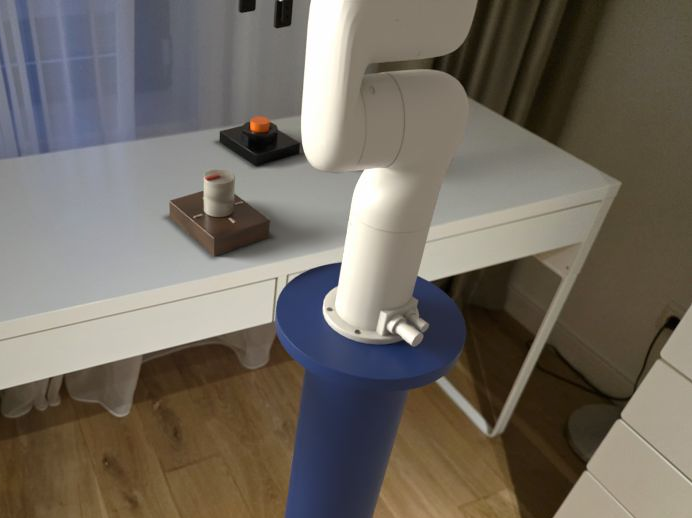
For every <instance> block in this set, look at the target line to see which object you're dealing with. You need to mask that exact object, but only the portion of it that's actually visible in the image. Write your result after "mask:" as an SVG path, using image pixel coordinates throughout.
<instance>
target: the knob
mask: <svg viewBox="0 0 692 518" xmlns="http://www.w3.org/2000/svg"><path fill="white" fill-rule="evenodd" d="M235 184H236V177H235V174H234V173H233V172H231V171H229V170H226V169H212V170H208V171H206V172H205V173H204V174H203V191H204V212H205V213H206V214H207V215H210V216H213V217H226V216H229V215H231V214H232V213H233V211H234V194H235V188H236V187H235Z"/></svg>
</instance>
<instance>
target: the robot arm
mask: <svg viewBox="0 0 692 518" xmlns="http://www.w3.org/2000/svg"><path fill="white" fill-rule="evenodd" d="M477 5H478V0H310V4H309V12H308V19H307V20H308V21H307V29H306V30H307V31H306V46H305V57H304V58H305V59H304V60H305V61H304V73H303V87H302V99H301V113H300V114H301V117H300V132H301V133H300V134H301V135H300V136H301V144H302V148H303V149H302V150H303V152H304V155H305V158H306V159H307V161H308V163H309V164H310V165H311V166H312V167H313V168H314V169H316V170H318V171H320V172H324V173H330V174H331V173H332V174H333V173H335V174H337V173H348V172H357V171H363V172H362V173H361V175H360V176H359V178H358V181H357V182H356V185H355V187H354V190H353V193H352V198H351V204H350V211H349V215H348V216H349V217H348V222H347V228H346V236H345V241H344V245H343V246H344V247H343V253H342V260H341V262H342V265H341V271H340V277H339V284H338V286H337V287H335V288H334V289H332V290H331V291H330V292H329V293H328V294H327V295H326V297H325V299H324V303H323V315H324V318H325V320H326V321H327V323H328V324H329V325H330V326H331V327H332V328H333V329H334V330H335V331H336V332H338V333H339V334H341V335H342V336H344V337H346V338H348V339H351V340H354V341H357V342H361V343H366V344H374V345H382V344H391V343H396V342H399V341H402V340H405V341H406V342H408V343H409V344H410V345H412V346H413V347H415V346H417V345H418V344H420V342H421V341H422V339H423V334H422V333H423V332H425V331H426V330H427V329H428V327H429V324H428V323H427V322H425V321H424V320H423V319H421V318H419V312H418V309H417V304H418V300H417V299H416V298H414V297H413V296H412V295H413V291H414V287H415V283H416V279H417V276H419V275H418V274H419V271H420V268H421V267H420V266H421V263H422V260H423V256H424V253H425V252H424V251H425V247H426V244H427V239H428V236H429V233H430V228H431V225H432V220H433V218H434V214H435V209H436V206H437V202H438V199H439V196H440V192H441V188H442V185H443V182H444V180H445V177H446V175H447V172H448V170H449V168H450V166H451V163H452V162H453V159H454V157H455V155H456V153H457V151H458V149H459V147H460V145H461V143H462V141H463V138H464V135H465V132H466V129H467V126H468V121H469V115H470V114H469V113H470V105H469V98H468V94H467V92H466V90H465V88H464V86H463V85H462V84H461V82H460V81H459V79H457V78H455V77H454V76H452V74H449V73H448V72H445V71H441V70H437V69H427V68H426V69H423V68H418V69H417V68H416V69H404V70H392V71H391V70H390V71H381V72H378V73H377V72H376V73H367V74H366V73H365V72H366V70H367V68H368V66H369V65H371V64H378V63H380V64H381V63H392V62H403V61H414V60H415V61H416V60H423V59H431V58H437V57H443V56H447V55H449V54H451V53H453V52H455V51H456V50H458V49H459V48H460V47H461V46H462V45H463V44H464V42H465V40H466V38H467V37H468V35H469V33H470V30H471V27H472V25H473V21H474V17H475V14H476V10H477ZM237 6H238V7H237V9H238V13H241V14H244V13H245V14H246V13H251V12H254V11H256V7H257V0H238V4H237ZM273 8H274V10H273V25H272V26H273V28H274V29H282V28H287V27H291V26H292V22H293V21H292V19H293V10H294V9H293V8H294V0H274V7H273ZM417 329H418V330H419V331H421V332H422V333H421V332H419V331H418V330H417Z"/></svg>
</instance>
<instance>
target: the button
mask: <svg viewBox="0 0 692 518" xmlns="http://www.w3.org/2000/svg"><path fill="white" fill-rule="evenodd" d="M250 121H251V122H250ZM250 121H249V122H250V130H252V131H255V132H267V131H269V130H270V122H271V120H270V118H268V117H266V116H265V117H264V116H253V117H252V118H250Z"/></svg>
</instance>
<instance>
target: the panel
mask: <svg viewBox="0 0 692 518" xmlns="http://www.w3.org/2000/svg"><path fill="white" fill-rule="evenodd" d="M168 202H169V203H168V204H169V205H168V206H169V207H168V208H169V218H170V219H171V220H172V221H173V222H174V223H176V225H178V226H179V227H180V228H181V229H182V230H183V231H185V233H187V234H188V235H189V236H190V237H191V238H192V239H194V240H195V241H196V242H197V243H198V244H199V245H201V246H202V247H203V248H204V249H205V250H206V251H207V252H209V253H210V254H211V255H212V256H213V257H216V256H218V255H222V254H224V253H228V252H231V251H233V250H236V249H239V248H242V247H245V246H247V245H250V244H253V243H256V242H259V241H263V240H265V239H268V238H269V237H270V230H271V229H270V228H271V219H270V218H268V217H267V216H266V215H265V214H263V213H262V212H260V211H259V210H257V209H256V208H255V207H254V206H252V205H251V204H250V203H248V202H247V201H245V199H243V198H241V197H240V196H239V195H238V194H236V193H234V211H233V213H232V214H231V215H229V216H226V217H213V216H210V215H207V214H206V213H205V212H204V190H201V191H198V192H194V193H191V194H187V195H184V196H180V197H177V198H173V199H171V200H169V201H168Z"/></svg>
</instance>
